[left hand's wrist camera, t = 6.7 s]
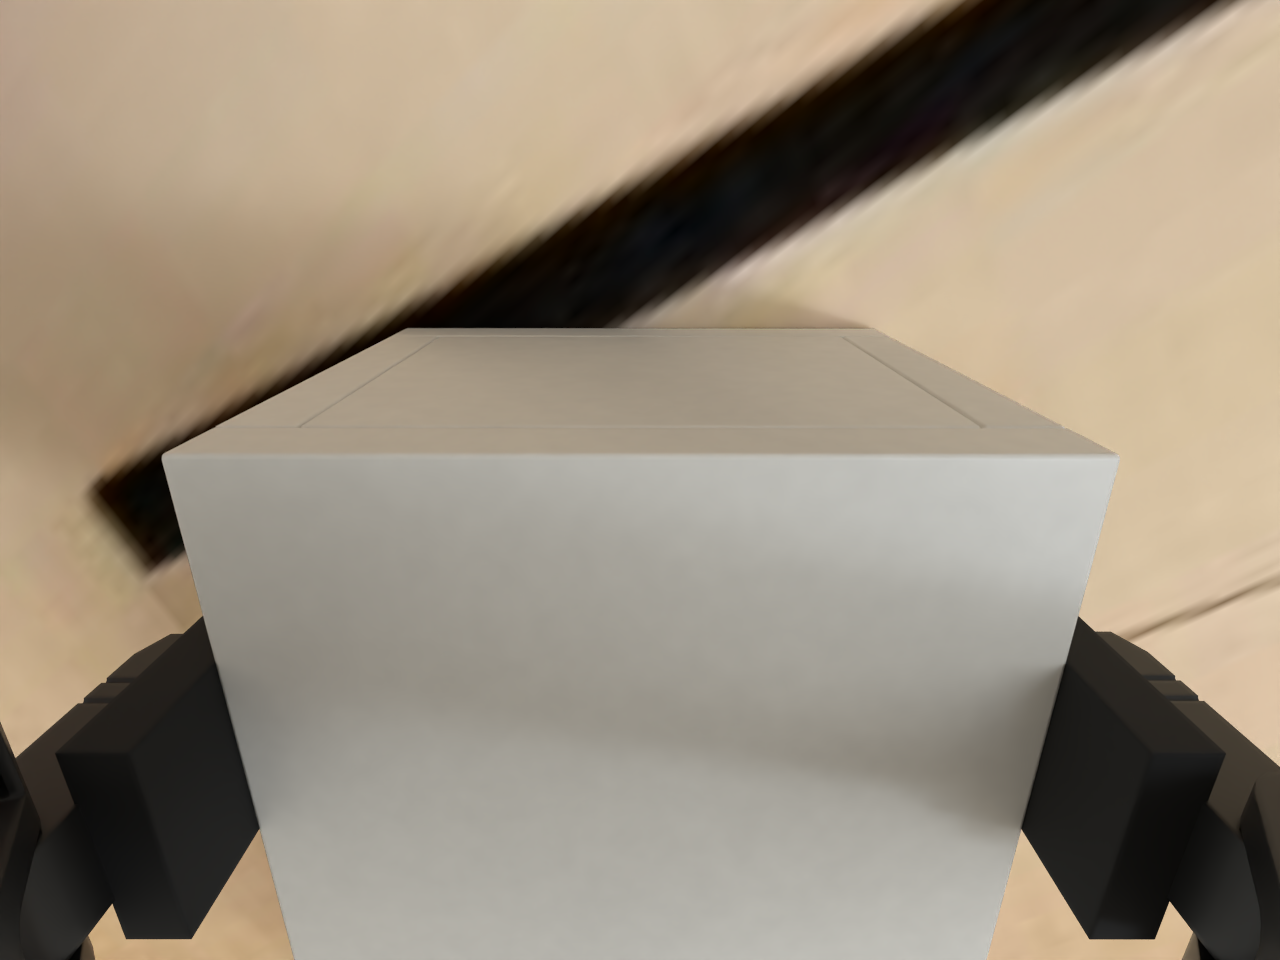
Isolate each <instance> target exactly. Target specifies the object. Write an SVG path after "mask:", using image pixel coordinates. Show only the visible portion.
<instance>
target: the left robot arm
mask: <svg viewBox="0 0 1280 960" xmlns="http://www.w3.org/2000/svg"><path fill="white" fill-rule="evenodd" d="M259 829H260V828H259V825H258V821H257V817H256V813H255V810H254V806H253V802H252V798H251V795H250V791H249V787H248V783H247V779H246V776H245V772H244V768H243V764H242V761H241V757H240V753H239V749H238V745H237V742H236V738H235V734H234V730H233V727H232V723H231V719H230V715H229V711H228V708H227V704H226V700H225V696H224V693H223V689H222V685H221V681H220V678H219V674H218V670H217V666H216V662H215V659H214V655H213V651H212V647H211V644H210V640H209V636H208V632H207V628H206V625H205V621H204V617H203V616H202V617H201V618H200V619H199V620H198V621H197V622H196V623H195V624H194V625H192V626H191V627H190V628H189V629H188V630H187V631H186V632H185V633H184V634H170V635H168V636H166V637H165V638H163V639H161V640H159V641H157V642H155V643H154V644H152V645H150V646H148V647H146V648H145V649H143V650H141V651H139V652H137V653H136V654H134V655H133V656H132V657H130V658H129V659H128V660H127V661H126V662H125V663H124V664H122V665H121V666H120V667H119V668H118V669H117V670H116V671H114V672H113V673H112V674H111V675H110V676H109V677H108V678H107V682H106V683H101V684H100V685H98V686H97V687H96V688H95V689H94V690H93V691H92V692H90V693H89V694H88V695H87V696H86V697H85V698H84V702H83V703H78V704H77V705H76V706H75V707H73V708H72V709H71V710H70V711H69V712H68V713H67V714H65V715H64V716H63V717H62V718H61V719H60V720H59V721H57V722H56V723H55V724H54V725H53V726H52V727H51V728H49V729H48V730H47V731H46V732H45V733H44V734H43V735H41V736H40V737H39V738H38V739H37V740H36V741H35V742H33V743H32V744H31V745H30V746H29V747H28V748H27V749H25V750H24V751H23V752H22V753H21V754H20V755H19V756H18V757H16V758H15V757H14V754H13V752H12V749H11V747H10V744H9V742H8V740H7V737H6V735H5V732H4V730H3V727H2V725H1V723H0V960H95V956H94V951H93V946H92V944H91V941H90V939H89V936H88V935H89V933H90V932H91V931H92V929H93V928H94V927H95V925H96V924H97V923H98V921H99V920H100V919H101V918H102V916H103V915H104V914H105V912H106V911H107V910H108V908H109V907H110V906H111V904H113V906H114V909H115V911H116V914H117V917H118V919H119V922H120V924H121V927H122V930H123V932H124V935H125V937H126V939H192V937H193V936H194V934H195V932H196V931H197V929H198V928H199V926H200V924H201V923H202V921H203V919H204V918H205V916H206V915H207V913H208V911H209V910H210V908H211V906H212V905H213V903H214V902H215V900H216V898H217V897H218V895H219V893H220V892H221V890H222V889H223V887H224V885H225V884H226V882H227V880H228V879H229V877H230V876H231V874H232V872H233V871H234V869H235V867H236V866H237V864H238V863H239V861H240V859H241V858H242V856H243V854H244V853H245V851H246V850H247V848H248V846H249V845H250V843H251V841H252V840H253V838H254V837H255V835H256V833H257V832H258V830H259ZM1021 829H1022V831H1023V832H1024V834H1025V835H1026V837H1027V839H1028V840H1029V842H1030V844H1031V845H1032V847H1033V848H1034V850H1035V852H1036V853H1037V855H1038V857H1039V858H1040V860H1041V861H1042V863H1043V865H1044V866H1045V868H1046V870H1047V871H1048V873H1049V874H1050V876H1051V878H1052V879H1053V881H1054V883H1055V884H1056V886H1057V887H1058V889H1059V891H1060V892H1061V894H1062V896H1063V897H1064V899H1065V900H1066V902H1067V904H1068V905H1069V907H1070V908H1071V910H1072V912H1073V913H1074V915H1075V917H1076V918H1077V920H1078V921H1079V923H1080V925H1081V926H1082V928H1083V930H1084V931H1085V933H1086V934H1087V936H1088V938H1089V939H1155V937H1156V935H1157V932H1158V930H1159V927H1160V924H1161V922H1162V919H1163V917H1164V914H1165V911H1166V909H1167V906H1168V904H1169V901H1170V902H1171V903H1172V905H1173V906H1174V907H1175V909H1176V910H1177V911H1178V913H1179V914H1180V915H1181V916H1182V918H1183V919H1184V920H1185V922H1186V923H1187V924H1188V926H1189V927H1190V928H1191V930H1192V931H1193V934H1192V936H1191V939H1190V941H1189V944H1188V946H1187V949H1186V951H1185V953H1184V956H1183V958H1182V960H1280V767H1279V766H1278V765H1277V764H1276V763H1275V762H1273V761H1272V760H1271V759H1270V758H1269V757H1268V756H1267V755H1265V754H1264V753H1263V752H1262V751H1261V750H1260V749H1258V748H1257V747H1256V746H1255V745H1254V744H1253V743H1252V742H1250V741H1249V740H1248V739H1247V738H1246V737H1245V736H1244V735H1242V734H1241V733H1240V732H1239V731H1238V730H1237V729H1235V728H1234V727H1233V726H1232V725H1231V724H1230V723H1229V722H1227V721H1226V720H1225V719H1224V718H1223V717H1222V716H1221V715H1219V714H1218V713H1217V712H1216V711H1215V710H1214V709H1213V708H1211V707H1210V706H1209V705H1208V704H1207V703H1206V702H1204V701H1199V700H1198V695H1196V694H1195V693H1194V692H1193V691H1192V690H1191V689H1190V688H1188V687H1187V686H1186V685H1185V684H1184V683H1183V682H1182V681H1176V680H1175V675H1173V674H1172V673H1171V672H1170V671H1169V670H1168V669H1167V668H1165V667H1164V666H1163V665H1162V664H1161V663H1160V662H1159V661H1157V660H1156V659H1155V658H1154V657H1153V656H1152V655H1150V654H1149V653H1148V652H1147V651H1145V650H1143V649H1141V648H1139V647H1138V646H1136V645H1134V644H1132V643H1130V642H1128V641H1127V640H1125V639H1123V638H1121V637H1119V636H1117V635H1116V634H1114V633H1112V632H1095V631H1094V630H1093V629H1092V628H1090V627H1089V626H1088V625H1087V624H1086V623H1085V622H1084V621H1083V620H1082V619H1081V618H1080V617H1079V616H1078V619H1077V622H1076V626H1075V630H1074V634H1073V637H1072V641H1071V645H1070V649H1069V652H1068V656H1067V660H1066V664H1065V667H1064V671H1063V675H1062V679H1061V682H1060V686H1059V690H1058V693H1057V697H1056V701H1055V705H1054V708H1053V712H1052V716H1051V720H1050V723H1049V727H1048V731H1047V735H1046V738H1045V742H1044V746H1043V750H1042V753H1041V757H1040V761H1039V765H1038V768H1037V772H1036V776H1035V780H1034V783H1033V787H1032V791H1031V795H1030V798H1029V802H1028V806H1027V810H1026V813H1025V817H1024V821H1023V825H1022V828H1021Z"/></svg>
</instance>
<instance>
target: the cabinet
mask: <svg viewBox="0 0 1280 960" xmlns="http://www.w3.org/2000/svg"><path fill="white" fill-rule="evenodd" d="M1119 461H1120V458H1119V455H1118V454H1116V453H1114V452H1112V451H1111V450H1109V449H1107V448H1105V447H1103V446H1101V445H1099V444H1097V443H1095V442H1093V441H1091V440H1089V439H1087V438H1085V437H1083V436H1081V435H1079V434H1078V433H1076V432H1074V431H1072V430H1070V429H1067V428H1064V426H1062V425H1060V424H1058V423H1056V422H1054V421H1052V420H1050V419H1048V418H1046V417H1044V416H1042V415H1040V414H1038V413H1036V412H1035V411H1033V410H1031V409H1029V408H1027V407H1025V406H1023V405H1021V404H1019V403H1017V402H1015V401H1013V400H1011V399H1009V398H1007V397H1005V396H1003V395H1002V394H1000V393H998V392H996V391H994V390H992V389H990V388H988V387H986V386H984V385H982V384H980V383H978V382H976V381H974V380H972V379H970V378H969V377H967V376H965V375H963V374H961V373H959V372H957V371H955V370H953V369H951V368H949V367H947V366H945V365H943V364H941V363H939V362H937V361H936V360H934V359H932V358H930V357H928V356H926V355H924V354H922V353H920V352H918V351H916V350H914V349H912V348H910V347H908V346H906V345H904V344H903V343H901V342H899V341H897V340H895V339H893V338H891V337H890V336H888V335H886V334H884V333H882V332H880V331H878V330H876V329H874V328H407V329H404V330H403V331H401V332H399V333H397V334H395V335H393V336H391V337H389V338H387V339H385V340H383V341H381V342H379V343H377V344H375V345H373V346H372V347H370V348H368V349H366V350H364V351H362V352H360V353H358V354H356V355H354V356H352V357H350V358H348V359H346V360H344V361H342V362H340V363H338V364H336V365H334V366H333V367H331V368H329V369H327V370H325V371H323V372H321V373H319V374H317V375H315V376H313V377H311V378H309V379H307V380H305V381H303V382H301V383H299V384H297V385H295V386H294V387H292V388H290V389H288V390H286V391H284V392H282V393H280V394H278V395H276V396H274V397H272V398H270V399H268V400H266V401H264V402H262V403H260V404H258V405H256V406H255V407H253V408H251V409H249V410H247V411H245V412H243V413H241V414H239V415H237V416H235V417H233V418H231V419H229V420H227V421H225V422H223V423H221V424H219V425H217V426H216V427H215V428H213V429H211V430H209V431H207V432H205V433H203V434H201V435H199V436H197V437H195V438H193V439H191V440H189V441H187V442H185V443H183V444H181V445H179V446H177V447H175V448H174V449H172V450H170V451H168V452H166V453H164V454H163V455H162V462H163V466H164V470H165V474H166V478H167V481H168V485H169V489H170V493H171V496H172V500H173V504H174V508H175V512H176V515H177V519H178V523H179V527H180V530H181V534H182V538H183V542H184V545H185V549H186V553H187V557H188V561H189V564H190V568H191V572H192V576H193V579H194V583H195V587H196V591H197V595H198V598H199V602H200V606H201V610H202V613H203V617H204V621H205V625H206V628H207V632H208V636H209V640H210V644H211V647H212V651H213V655H214V659H215V662H216V666H217V670H218V674H219V678H220V681H221V685H222V689H223V693H224V696H225V700H226V704H227V708H228V711H229V715H230V719H231V723H232V727H233V730H234V734H235V738H236V742H237V745H238V749H239V753H240V757H241V761H242V764H243V768H244V772H245V776H246V779H247V783H248V787H249V791H250V795H251V798H252V802H253V806H254V810H255V813H256V817H257V821H258V825H259V828H260V832H261V836H262V840H263V844H264V847H265V851H266V855H267V859H268V862H269V866H270V870H271V874H272V878H273V881H274V885H275V889H276V893H277V896H278V900H279V904H280V908H281V911H282V915H283V919H284V923H285V927H286V930H287V934H288V938H289V942H290V945H291V949H292V953H293V957H294V960H986V959H987V956H988V952H989V948H990V944H991V941H992V937H993V933H994V929H995V926H996V922H997V918H998V914H999V911H1000V907H1001V903H1002V899H1003V896H1004V892H1005V888H1006V884H1007V881H1008V877H1009V873H1010V870H1011V866H1012V862H1013V858H1014V855H1015V851H1016V847H1017V843H1018V840H1019V836H1020V832H1021V828H1022V825H1023V821H1024V817H1025V813H1026V810H1027V806H1028V802H1029V798H1030V795H1031V791H1032V787H1033V783H1034V780H1035V776H1036V772H1037V768H1038V765H1039V761H1040V757H1041V753H1042V750H1043V746H1044V742H1045V738H1046V735H1047V731H1048V727H1049V723H1050V720H1051V716H1052V712H1053V708H1054V705H1055V701H1056V697H1057V693H1058V690H1059V686H1060V682H1061V679H1062V675H1063V671H1064V667H1065V664H1066V660H1067V656H1068V652H1069V649H1070V645H1071V641H1072V637H1073V634H1074V630H1075V626H1076V622H1077V619H1078V615H1079V611H1080V607H1081V604H1082V600H1083V596H1084V592H1085V589H1086V585H1087V581H1088V577H1089V574H1090V570H1091V566H1092V562H1093V559H1094V555H1095V551H1096V547H1097V544H1098V540H1099V536H1100V532H1101V529H1102V525H1103V521H1104V517H1105V514H1106V510H1107V506H1108V502H1109V499H1110V495H1111V491H1112V487H1113V484H1114V480H1115V476H1116V473H1117V469H1118V465H1119Z"/></svg>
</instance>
